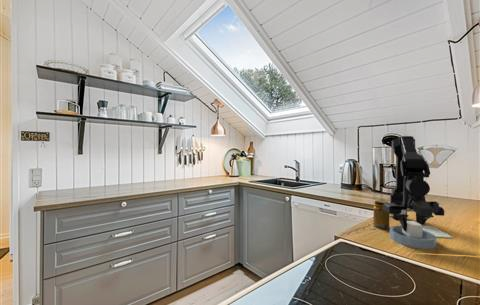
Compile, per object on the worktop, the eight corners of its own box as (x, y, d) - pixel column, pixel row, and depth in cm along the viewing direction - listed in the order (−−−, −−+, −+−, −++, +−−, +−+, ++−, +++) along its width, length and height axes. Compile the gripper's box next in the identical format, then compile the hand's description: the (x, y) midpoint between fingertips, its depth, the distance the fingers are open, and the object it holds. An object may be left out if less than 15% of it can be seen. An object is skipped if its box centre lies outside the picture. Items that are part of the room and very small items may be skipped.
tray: (406, 227, 102) (406, 225, 101) (430, 228, 100) (430, 225, 100) (424, 238, 90) (424, 235, 90) (452, 239, 88) (452, 236, 88)
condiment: (374, 224, 105) (374, 198, 105) (396, 228, 100) (396, 202, 99) (370, 228, 100) (370, 201, 100) (393, 233, 94) (393, 205, 94)
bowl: (382, 233, 94) (383, 225, 94) (419, 235, 93) (419, 226, 92) (402, 249, 80) (402, 239, 80) (446, 251, 79) (446, 241, 79)
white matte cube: (402, 232, 89) (402, 220, 89) (414, 232, 88) (414, 221, 88) (409, 236, 84) (409, 224, 84) (422, 237, 84) (422, 225, 84)
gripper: (398, 194, 79) (397, 238, 80) (457, 196, 77) (456, 241, 77) (382, 188, 90) (381, 227, 91) (433, 189, 88) (432, 229, 88)
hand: (411, 231), depth 86 cm, fingers closed on white matte cube, 4 cm apart
